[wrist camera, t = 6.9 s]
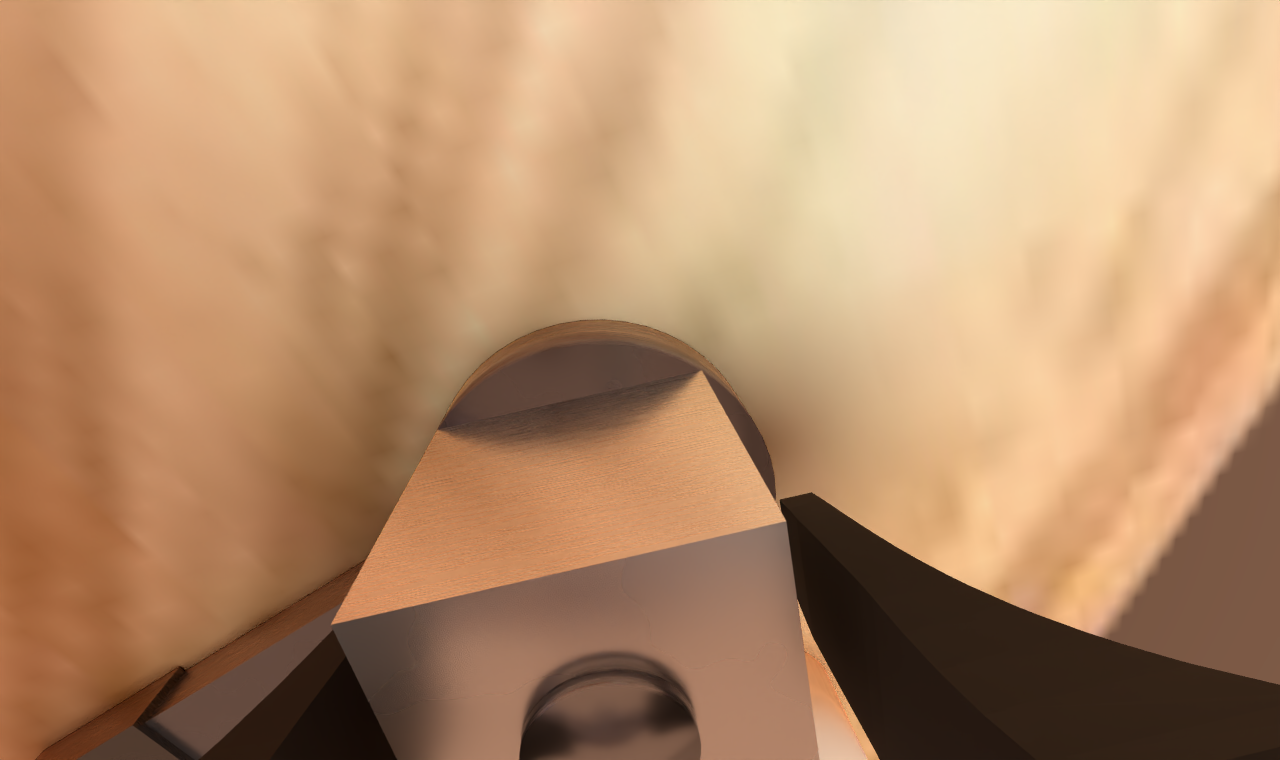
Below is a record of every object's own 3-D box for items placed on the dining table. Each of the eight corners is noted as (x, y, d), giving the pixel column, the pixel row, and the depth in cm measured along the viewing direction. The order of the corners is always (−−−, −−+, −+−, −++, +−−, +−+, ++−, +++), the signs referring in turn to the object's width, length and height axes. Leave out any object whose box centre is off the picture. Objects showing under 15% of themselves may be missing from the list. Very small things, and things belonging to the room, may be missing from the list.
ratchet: (96, 817, 18) (-55, 1021, 14) (-165, 490, 14) (-493, 633, 10) (786, 655, 18) (848, 807, 14) (726, 285, 14) (787, 339, 10)
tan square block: (512, 637, 14) (467, 932, 9) (437, 429, 12) (320, 643, 7) (740, 585, 14) (836, 846, 9) (701, 370, 13) (794, 536, 7)
